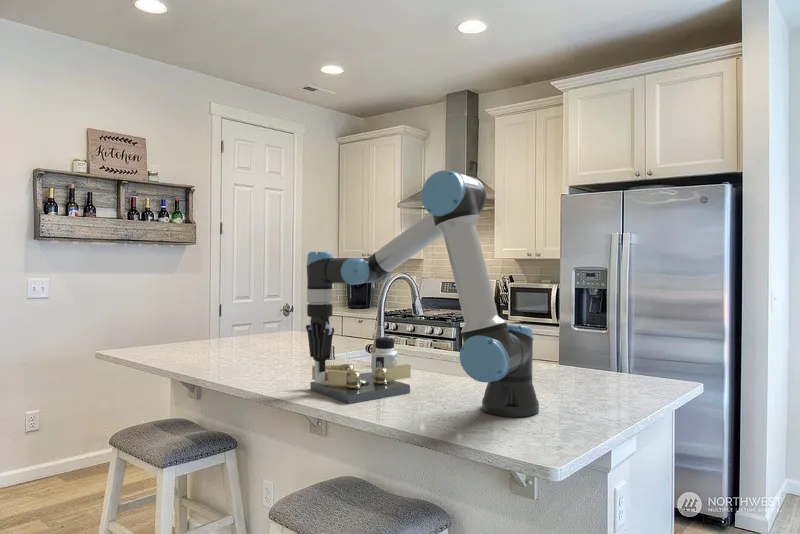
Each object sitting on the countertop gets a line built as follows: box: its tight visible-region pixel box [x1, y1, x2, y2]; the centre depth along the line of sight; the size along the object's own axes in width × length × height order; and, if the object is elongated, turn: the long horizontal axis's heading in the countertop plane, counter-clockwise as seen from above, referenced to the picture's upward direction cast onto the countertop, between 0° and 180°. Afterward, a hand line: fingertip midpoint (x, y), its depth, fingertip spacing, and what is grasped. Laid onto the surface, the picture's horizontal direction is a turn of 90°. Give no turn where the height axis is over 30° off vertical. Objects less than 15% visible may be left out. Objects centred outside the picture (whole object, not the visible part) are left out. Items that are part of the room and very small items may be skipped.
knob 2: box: [373, 363, 412, 384], centre depth 182 cm, size 13×4×4 cm, turn 128°
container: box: [371, 336, 399, 375], centre depth 206 cm, size 8×8×13 cm
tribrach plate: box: [309, 373, 411, 405], centre depth 179 cm, size 22×22×3 cm
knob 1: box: [320, 369, 361, 389], centre depth 175 cm, size 13×4×4 cm, turn 67°
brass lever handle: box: [311, 363, 355, 381], centre depth 184 cm, size 13×4×4 cm, turn 101°
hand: (319, 382), depth 174 cm, fingers closed
